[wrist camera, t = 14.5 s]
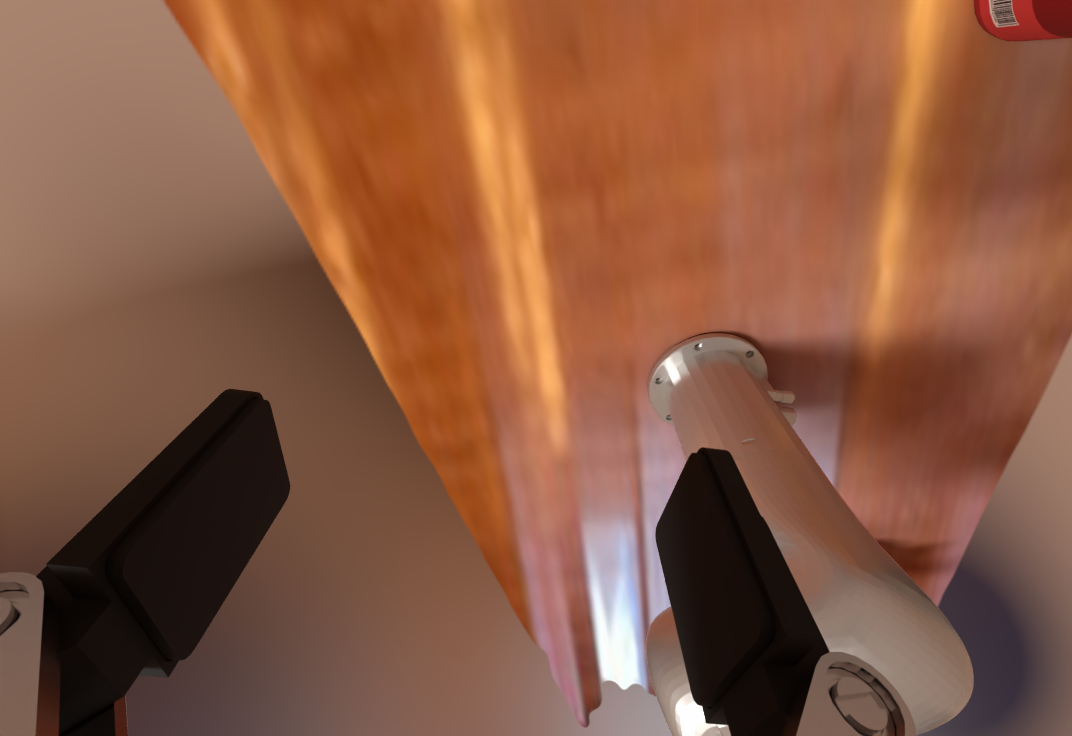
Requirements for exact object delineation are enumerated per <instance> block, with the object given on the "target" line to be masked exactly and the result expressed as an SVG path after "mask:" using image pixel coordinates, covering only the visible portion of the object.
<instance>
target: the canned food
mask: <svg viewBox="0 0 1072 736" xmlns="http://www.w3.org/2000/svg"><path fill="white" fill-rule="evenodd" d="M974 8H975V14H976V17H977V20H978V22H979V24H980V25H981V26H982V28H983V29H984V30H985V31H986V32H988V33H989V34H991V35H993V36H995V37H997V38H1000V39H1003V40H1007V41H1028V40H1043V39H1057V38H1072V0H974Z"/></svg>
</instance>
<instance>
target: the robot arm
mask: <svg viewBox="0 0 1072 736" xmlns="http://www.w3.org/2000/svg"><path fill="white" fill-rule="evenodd" d="M767 379H768V371H767V365H766V363H765V360H764V358H763V356H762V355H761V354H760V352H759V351H758V350H757V349H756V348H755V347H754V346H753V345H752V344H751V343H750V342H748V341H746V340H745V339H743V338H741V337H738V336H735V335H731V334H724V333H709V334H704V335H699V336H695V337H693V338H690V339H687V340H685V341H683V342H681V343H679V344H677V345H675V346H674V347H673V348H671V349H670V350H669V351H667V352H666V353H665V354H664V355H663V356H662V357H661V358H660V359H659V360H658V362H657V363H656V365H655V366H654V368H653V370H652V372H651V375H650V377H649V382H648V396H649V399H650V403H651V405H652V407H653V409H654V411H655V412H656V414H657V415H658V416H659V417H660V418H661V419H662V420H663V421H665V422H666V423H668V424H670V425H672V426H674V427H675V430H676V433H677V435H678V438H679V441H680V444H681V446H682V449H683V452H684V455H685V458H686V460H687V462H686V464H685V466H684V468H683V470H682V473H681V475H680V477H679V479H678V481H677V483H676V485H675V488H674V490H673V492H672V494H671V496H670V498H669V500H668V503H667V505H666V507H665V509H664V511H663V513H662V515H661V517H660V520H659V522H658V524H657V527H656V543H657V547H658V551H659V556H660V560H661V564H662V569H663V573H664V577H665V582H666V586H667V590H668V595H669V599H670V603H671V607H669V608H667V609H666V610H664V611H663V612H661V613H660V614H659V615H658V616H657V617H656V618H655V619H654V620H653V622H652V623H651V626H650V628H649V630H648V634H647V639H646V657H647V664H648V669H649V673H650V677H651V681H652V684H653V687H654V690H655V693H656V696H657V699H658V702H659V704H660V707H661V709H662V712H663V714H664V717H665V719H666V722H667V724H668V726H669V729H670V731H671V733H672V735H673V736H916V735H918V734H921V733H924V732H927V731H929V730H931V729H934V728H936V727H938V726H940V725H942V724H944V723H946V722H948V721H949V720H951V719H952V718H953V717H955V716H956V715H957V714H958V713H959V712H960V711H961V710H962V709H963V708H964V707H965V705H966V704H967V702H968V700H969V698H970V696H971V694H972V690H973V682H974V681H973V680H974V678H973V669H972V665H971V661H970V658H969V655H968V653H967V651H966V648H965V646H964V645H963V643H962V641H961V639H960V638H959V636H958V635H957V633H956V632H955V630H954V629H953V627H952V626H951V624H950V623H949V621H948V620H947V618H946V617H945V616H944V615H943V613H942V612H941V611H940V610H939V609H938V607H937V606H936V605H935V604H934V603H933V601H932V600H931V599H930V598H929V597H928V596H927V594H926V593H925V592H924V591H923V590H922V589H921V588H920V587H919V586H918V585H917V584H916V583H915V582H914V581H913V579H912V578H911V577H910V576H909V575H908V574H907V573H906V572H905V571H904V570H903V569H902V568H901V567H900V566H899V565H898V564H897V563H896V561H895V560H894V559H893V558H892V557H891V556H890V555H889V554H888V553H887V552H886V551H885V550H884V549H883V547H882V546H881V545H880V544H879V543H878V542H877V541H876V539H875V538H874V537H873V536H872V535H871V534H870V532H869V531H868V530H867V529H866V528H865V527H864V526H863V524H862V523H861V522H860V521H859V520H858V518H857V517H856V516H855V514H854V513H853V512H852V510H851V509H850V508H849V507H848V505H847V504H846V503H845V501H844V500H843V499H842V497H841V496H840V495H839V493H838V492H837V491H836V489H835V488H834V486H833V485H832V484H831V482H830V481H829V479H828V478H827V477H826V475H825V474H824V472H823V471H822V469H821V468H820V467H819V465H818V464H817V462H816V461H815V459H814V458H813V457H812V455H811V454H810V452H809V451H808V449H807V448H806V446H805V445H804V444H803V442H802V441H801V439H800V438H799V436H798V435H797V433H796V432H795V431H794V429H793V428H792V426H791V425H793V424H794V423H795V420H796V412H795V410H794V409H792V408H786V407H778V406H777V405H776V403H775V402H774V401H776V402H779V403H787V404H791V403H793V401H794V399H795V395H794V392H792V391H788V390H775V389H773V387H772V386H771V385H770V384H769V382H768V381H767ZM289 491H290V482H289V478H288V474H287V470H286V466H285V462H284V458H283V454H282V450H281V446H280V442H279V438H278V434H277V429H276V425H275V422H274V418H273V413H272V410H271V406H270V403H269V402H268V401H267V400H264V399H263V397H262V395H261V394H260V393H258V392H252V391H244V390H236V389H228V390H225V391H224V392H223V393H221V394H220V395H219V396H218V397H217V398H216V399H215V400H214V401H213V402H212V403H211V404H210V405H209V406H208V407H207V408H206V409H205V410H204V411H203V412H202V413H201V414H200V415H199V416H198V417H197V418H196V419H195V420H194V421H193V422H192V423H191V424H190V425H189V426H187V427H186V429H184V430H183V431H182V432H181V433H180V434H179V435H178V436H177V437H176V438H175V439H174V440H173V441H172V442H171V443H170V444H169V445H168V446H167V447H166V448H165V449H164V450H163V451H162V452H161V453H160V454H159V455H158V456H157V457H156V458H155V459H154V460H153V461H151V462H150V463H149V464H148V465H147V466H146V467H145V468H144V469H143V470H142V471H141V472H140V473H139V474H138V475H137V476H136V477H135V478H134V479H133V480H132V481H131V482H130V483H129V484H128V485H127V486H126V487H125V488H124V489H123V490H122V491H121V492H120V493H119V494H118V495H117V496H115V497H114V498H113V499H112V500H111V501H110V502H109V503H108V504H107V505H106V506H105V507H104V508H103V509H102V510H101V511H100V512H99V513H98V514H97V515H96V516H95V517H94V518H93V519H92V520H91V521H90V522H89V523H88V524H87V525H86V526H85V527H84V528H83V529H82V530H81V531H80V532H79V533H77V535H76V536H74V537H73V538H72V539H71V540H70V541H69V542H68V543H67V544H66V545H65V546H64V547H63V548H62V549H61V550H60V551H59V552H58V553H57V554H56V555H55V556H54V557H53V558H52V559H51V560H50V561H49V562H48V563H47V564H46V565H47V566H46V567H45V568H44V569H43V570H42V571H41V572H40V573H39V574H38V575H37V576H36V577H35V576H34V575H32V574H27V573H21V572H12V573H1V574H0V736H128V727H127V711H126V695H125V694H126V693H127V691H128V690H129V688H130V687H131V685H132V684H133V682H134V681H135V680H136V678H137V677H138V675H143V676H155V677H169V676H170V674H171V672H172V671H173V669H174V668H175V666H176V664H177V663H178V661H179V660H184V659H186V658H187V657H188V656H189V655H190V654H191V653H192V652H193V650H194V649H195V647H196V646H197V644H198V643H199V641H200V639H201V638H202V636H203V635H204V633H205V631H206V630H207V628H208V627H209V625H210V623H211V622H212V620H213V618H214V617H215V615H216V614H217V612H218V610H219V609H220V607H221V605H222V604H223V602H224V601H225V599H226V597H227V596H228V594H229V592H230V591H231V589H232V588H233V586H234V584H235V583H236V581H237V579H238V578H239V576H240V575H241V573H242V571H243V569H244V568H245V567H246V565H247V563H248V562H249V559H250V558H251V557H252V555H253V554H254V552H255V550H256V549H257V547H258V545H259V544H260V542H261V541H262V539H263V537H264V536H265V534H266V532H267V531H268V529H269V528H270V526H271V524H272V523H273V521H274V519H275V518H276V516H277V515H278V513H279V511H280V510H281V508H282V507H283V505H284V503H285V502H286V500H287V498H288V495H289Z"/></svg>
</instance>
